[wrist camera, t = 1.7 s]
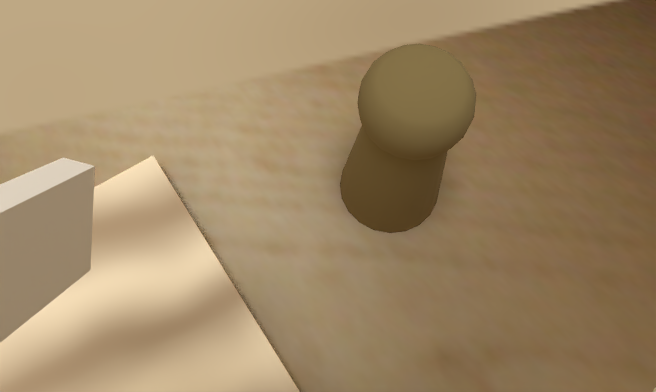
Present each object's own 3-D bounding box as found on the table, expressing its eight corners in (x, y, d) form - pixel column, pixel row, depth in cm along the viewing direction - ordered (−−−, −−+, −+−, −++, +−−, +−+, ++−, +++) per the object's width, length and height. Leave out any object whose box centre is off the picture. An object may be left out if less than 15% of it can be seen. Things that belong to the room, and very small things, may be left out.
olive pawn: (358, 131, 33) (377, 5, 23) (449, 160, 32) (510, 45, 22) (326, 212, 30) (330, 114, 20) (422, 246, 30) (476, 162, 20)
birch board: (323, 430, 26) (324, 431, 24) (-26, 693, 22) (-50, 713, 20) (160, 166, 31) (153, 155, 30) (-143, 334, 27) (-168, 330, 26)
